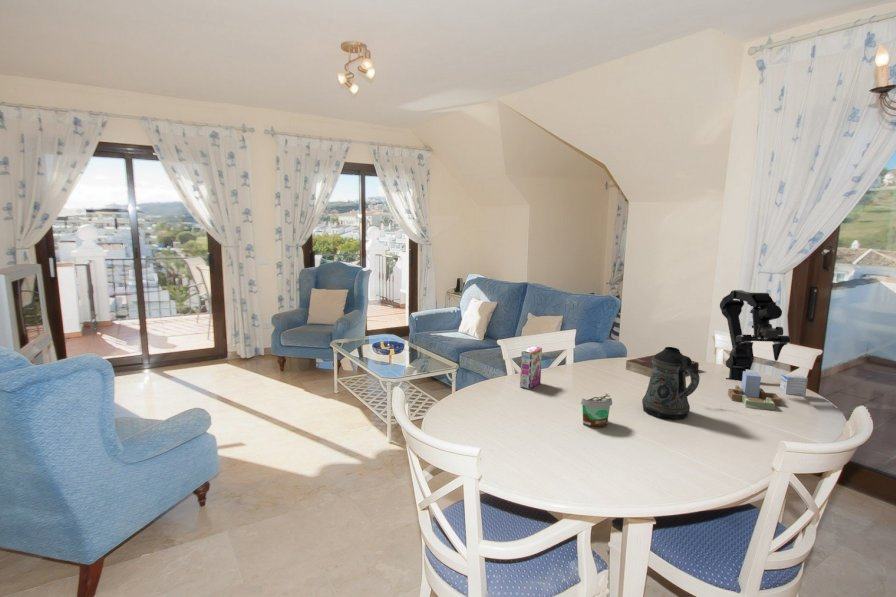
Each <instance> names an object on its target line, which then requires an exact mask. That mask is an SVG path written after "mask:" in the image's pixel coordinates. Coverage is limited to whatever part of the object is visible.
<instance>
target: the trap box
mask: <svg viewBox="0 0 896 597" xmlns="http://www.w3.org/2000/svg"><path fill="white" fill-rule="evenodd" d="M727 395H728V397H729V399H730V401H731V402H739V403H742V405H743V406H744V407H745V408H750V409H759V410H766V411H767V410H768V411H775V408H776V406H777V407H781V403H782V399H781V398H780V397H779V396H778V394H776V393H775V392H773V393H772V392H765V391H764V389H763V388H762V387H760V391H759V398H751V397H746V395H743V394H742V390H741V387H740V385H734V388H728V391H727Z"/></svg>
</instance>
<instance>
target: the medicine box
mask: <svg viewBox="0 0 896 597" xmlns="http://www.w3.org/2000/svg"><path fill="white" fill-rule="evenodd" d="M780 376H781V377H780V383H779V384H780V386H779V392H781V393H783V394H784V395H797V396H798V395H800V396H801V397H802V398H804V399H806V397H807V396H806V394H807V388H808V377H806V376H804V375H801V374H781V375H780Z"/></svg>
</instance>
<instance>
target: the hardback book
mask: <svg viewBox="0 0 896 597" xmlns="http://www.w3.org/2000/svg"><path fill="white" fill-rule="evenodd" d="M654 355H655V354H653V355H647V356H643V357H639V358H638V357H637V358H632V359H631V358H630V359H628V360H626V364H625V365H626V366H625V369H626V370H627V371H630V372H633V373H636V374H639V375H643V376H644V377H645V376H646V377H648V378H650V377H651V373H652V369H653V363H652V357H653V356H654ZM691 361H692V364H691V365H692V366H694V367H695V368H696V369H697V370H698V371H699V366H700V365H699V364H700V363H699V362H698V361H694V360H691ZM686 374H688V373H687V372H685V375H686Z"/></svg>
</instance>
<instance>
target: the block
mask: <svg viewBox="0 0 896 597" xmlns="http://www.w3.org/2000/svg"><path fill="white" fill-rule="evenodd" d="M761 379H762V376H761V375H760V374H759V373H758V372H756V371H755V372H754V371H748V370H746V371H743V377H742V381H741V387H740V388H741V390H742V394H743V395H746V397H751V398H759V391H760V388H761V381H762V380H761Z"/></svg>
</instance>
